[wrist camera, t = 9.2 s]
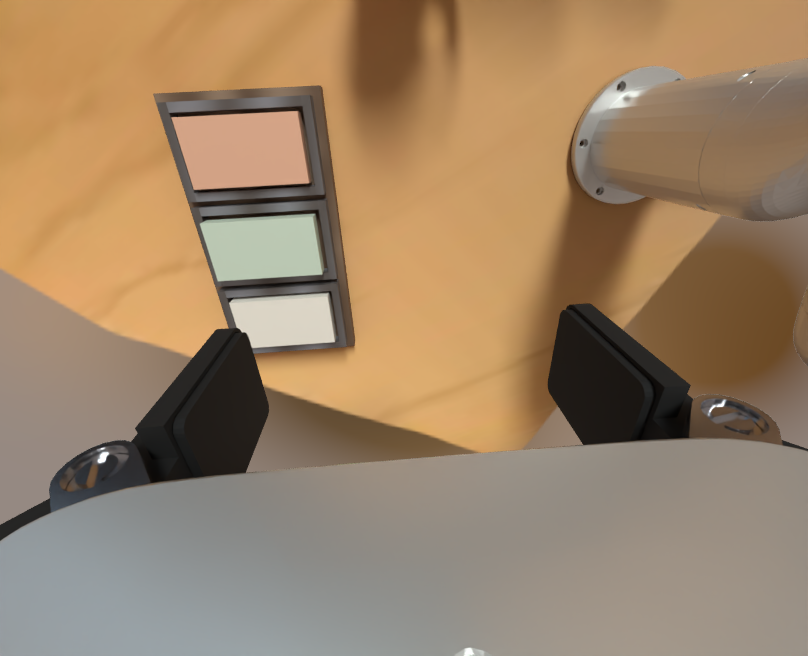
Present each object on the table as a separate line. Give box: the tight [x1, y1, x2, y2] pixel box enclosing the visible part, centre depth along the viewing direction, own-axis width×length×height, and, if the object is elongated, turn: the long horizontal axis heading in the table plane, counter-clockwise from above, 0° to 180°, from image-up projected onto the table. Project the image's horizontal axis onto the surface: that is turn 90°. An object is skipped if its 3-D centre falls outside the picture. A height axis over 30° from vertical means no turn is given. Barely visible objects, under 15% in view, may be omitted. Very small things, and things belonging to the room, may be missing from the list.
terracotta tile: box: [171, 111, 312, 190], centre depth 34 cm, size 11×6×2 cm, turn 93°
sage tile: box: [200, 214, 324, 281], centre depth 37 cm, size 11×6×2 cm, turn 93°
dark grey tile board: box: [153, 86, 355, 353], centre depth 39 cm, size 15×28×3 cm, turn 3°
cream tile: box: [229, 291, 336, 348], centre depth 42 cm, size 11×6×2 cm, turn 93°
